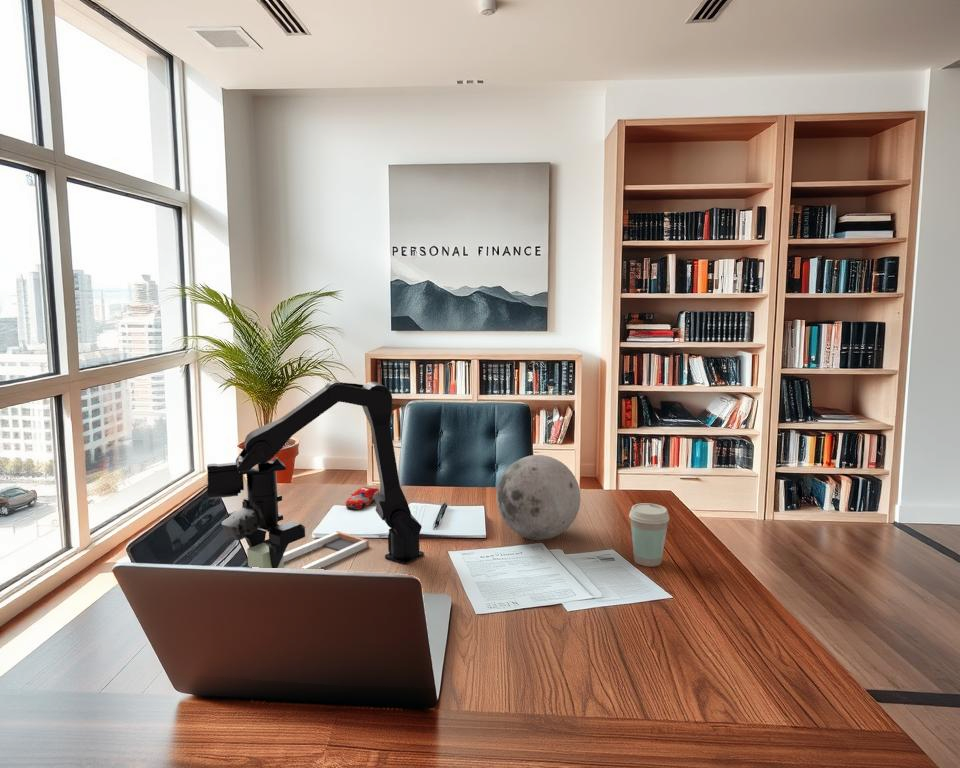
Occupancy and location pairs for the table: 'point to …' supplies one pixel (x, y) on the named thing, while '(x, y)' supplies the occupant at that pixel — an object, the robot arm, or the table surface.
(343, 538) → the grey and orange drawer
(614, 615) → the table surface
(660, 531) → the coffee cup
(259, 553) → the block
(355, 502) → the race car
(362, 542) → the channel
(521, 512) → the moon model
